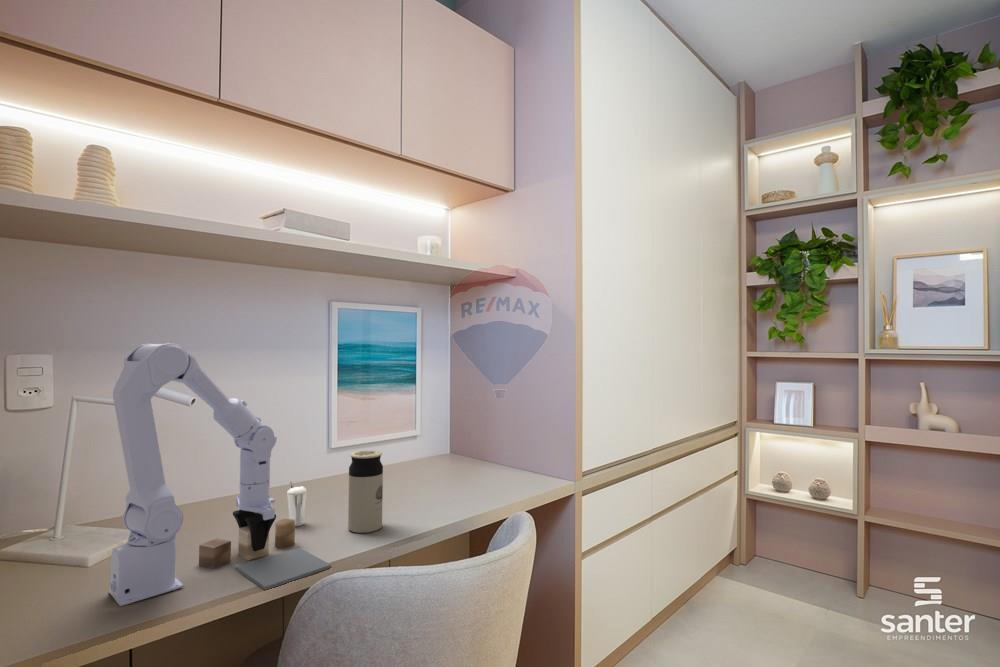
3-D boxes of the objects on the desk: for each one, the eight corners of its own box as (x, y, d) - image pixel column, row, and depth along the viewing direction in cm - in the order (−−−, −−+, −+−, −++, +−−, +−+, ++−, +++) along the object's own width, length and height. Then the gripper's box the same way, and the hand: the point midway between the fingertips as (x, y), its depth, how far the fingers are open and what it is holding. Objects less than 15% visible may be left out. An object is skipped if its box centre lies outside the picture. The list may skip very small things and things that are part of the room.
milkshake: (298, 519, 131) (299, 479, 131) (310, 524, 128) (310, 483, 128) (281, 524, 128) (282, 483, 128) (292, 529, 124) (293, 487, 124)
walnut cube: (213, 568, 102) (213, 548, 102) (198, 565, 103) (199, 545, 104) (230, 560, 106) (231, 541, 106) (216, 557, 107) (216, 538, 107)
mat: (264, 590, 93) (264, 586, 93) (235, 569, 101) (235, 566, 101) (331, 567, 102) (331, 564, 102) (299, 550, 111) (299, 547, 111)
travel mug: (341, 530, 123) (342, 454, 124) (362, 520, 130) (363, 448, 131) (368, 536, 120) (369, 457, 120) (388, 525, 127) (389, 451, 128)
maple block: (247, 560, 106) (247, 533, 106) (238, 554, 109) (238, 528, 109) (268, 554, 109) (269, 527, 109) (259, 548, 112) (260, 523, 112)
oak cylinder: (280, 549, 111) (280, 526, 112) (271, 544, 114) (272, 522, 114) (297, 544, 114) (298, 521, 115) (289, 540, 117) (289, 517, 117)
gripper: (289, 483, 107) (288, 550, 107) (259, 472, 117) (258, 533, 117) (254, 490, 102) (253, 560, 102) (226, 478, 112) (224, 541, 111)
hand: (253, 546), depth 109 cm, fingers closed on maple block, 4 cm apart
